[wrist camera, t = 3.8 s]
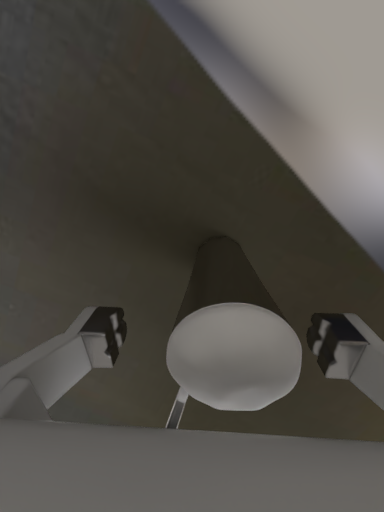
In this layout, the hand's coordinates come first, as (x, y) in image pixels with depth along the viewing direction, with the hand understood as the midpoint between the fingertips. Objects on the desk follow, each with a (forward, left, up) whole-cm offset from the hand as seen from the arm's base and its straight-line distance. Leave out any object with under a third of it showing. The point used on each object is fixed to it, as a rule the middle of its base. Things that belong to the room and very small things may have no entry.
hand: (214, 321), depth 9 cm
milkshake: (0, 0, -6) cm, 6 cm away
